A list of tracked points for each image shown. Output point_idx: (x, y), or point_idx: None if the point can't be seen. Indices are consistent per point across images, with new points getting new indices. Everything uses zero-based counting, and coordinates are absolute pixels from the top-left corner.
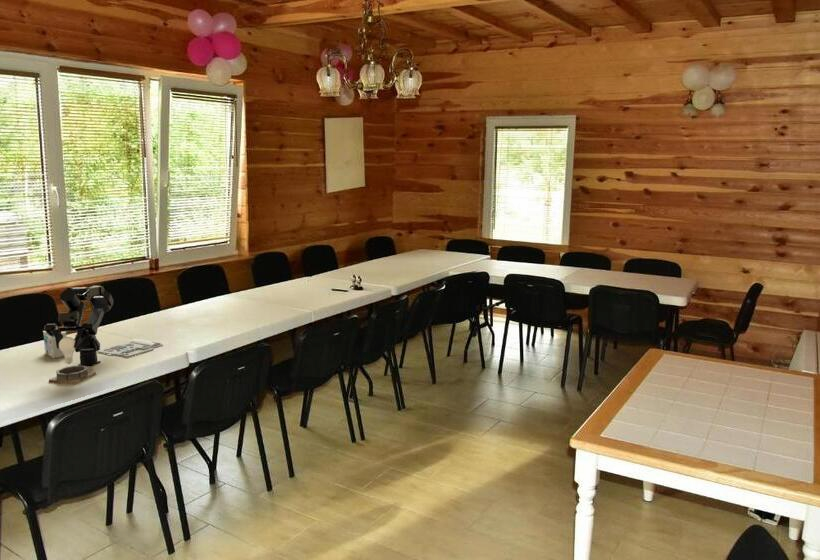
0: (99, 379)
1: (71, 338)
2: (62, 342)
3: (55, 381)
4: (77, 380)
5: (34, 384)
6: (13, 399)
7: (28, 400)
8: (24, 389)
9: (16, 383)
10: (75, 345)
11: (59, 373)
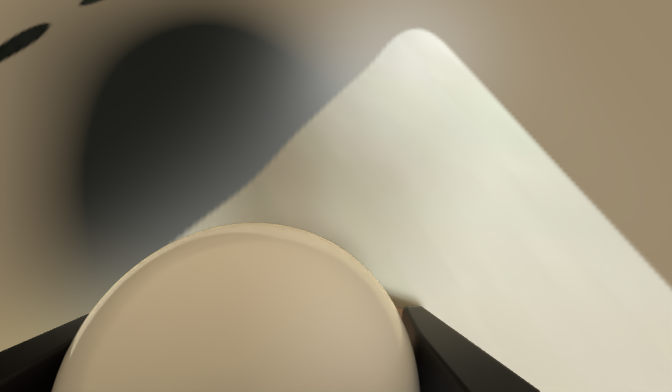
0: None
1: (82, 377)
2: (290, 231)
3: None
4: None
5: (496, 285)
6: (454, 86)
7: (377, 70)
8: (496, 204)
9: (635, 318)
10: (85, 315)
11: None
